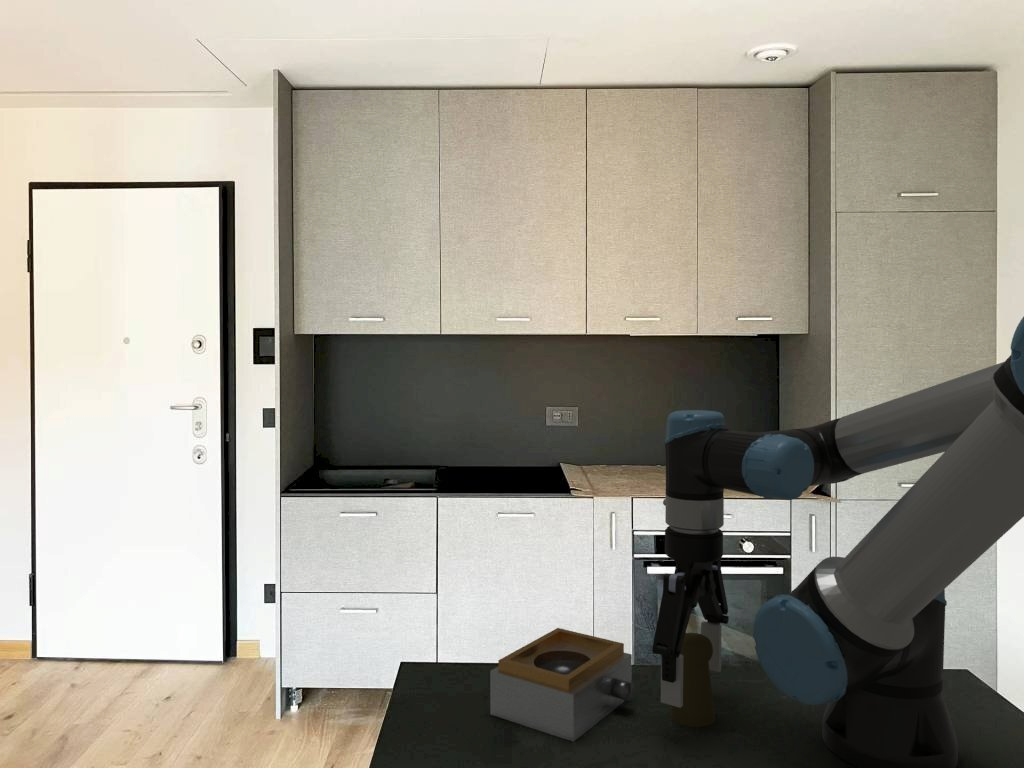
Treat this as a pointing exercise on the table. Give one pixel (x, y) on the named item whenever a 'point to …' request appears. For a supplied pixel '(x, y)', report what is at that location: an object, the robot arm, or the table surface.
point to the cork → (695, 683)
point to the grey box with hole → (562, 683)
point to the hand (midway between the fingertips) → (692, 686)
